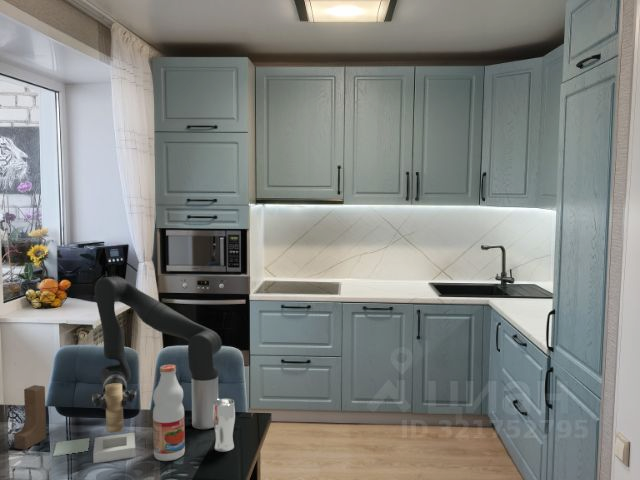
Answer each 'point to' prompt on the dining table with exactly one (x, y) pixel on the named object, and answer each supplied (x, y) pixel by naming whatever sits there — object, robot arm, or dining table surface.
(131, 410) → the dining table surface
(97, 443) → the white square frame
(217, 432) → the beer glass
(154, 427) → the fruit juice
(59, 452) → the sage mat
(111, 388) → the wooden peg
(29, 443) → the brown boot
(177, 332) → the robot arm
